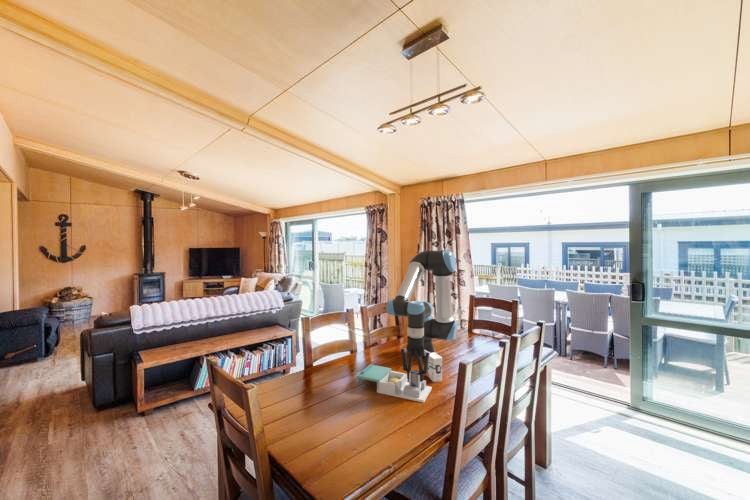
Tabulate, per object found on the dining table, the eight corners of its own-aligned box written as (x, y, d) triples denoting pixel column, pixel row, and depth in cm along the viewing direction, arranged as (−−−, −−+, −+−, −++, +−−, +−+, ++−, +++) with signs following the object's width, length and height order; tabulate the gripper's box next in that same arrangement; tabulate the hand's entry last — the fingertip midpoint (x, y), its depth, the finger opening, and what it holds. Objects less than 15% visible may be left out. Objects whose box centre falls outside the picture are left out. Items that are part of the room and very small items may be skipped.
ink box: (425, 375, 162) (425, 352, 162) (434, 374, 164) (434, 351, 163) (433, 382, 154) (433, 358, 154) (442, 381, 156) (442, 357, 155)
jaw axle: (412, 388, 146) (412, 369, 146) (420, 390, 144) (420, 371, 144) (409, 392, 142) (409, 372, 142) (418, 394, 141) (418, 374, 140)
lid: (369, 370, 161) (370, 362, 161) (391, 374, 156) (391, 365, 156) (356, 381, 147) (356, 372, 147) (379, 386, 143) (379, 377, 142)
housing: (388, 380, 156) (388, 370, 156) (431, 388, 147) (432, 378, 147) (376, 392, 144) (376, 381, 143) (423, 402, 134) (423, 391, 134)
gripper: (395, 335, 143) (395, 387, 143) (431, 340, 136) (430, 394, 136) (401, 331, 150) (400, 380, 150) (435, 336, 143) (435, 387, 143)
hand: (415, 387), depth 143 cm, fingers closed on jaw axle, 3 cm apart
